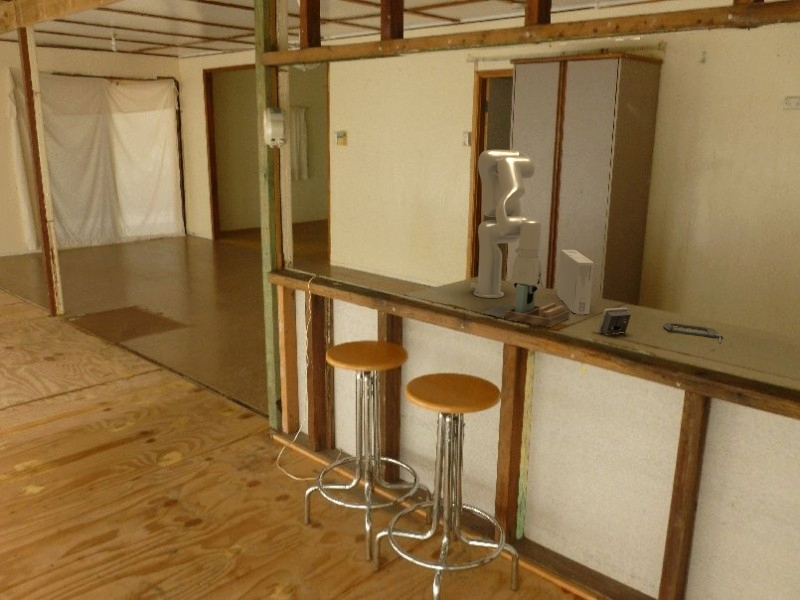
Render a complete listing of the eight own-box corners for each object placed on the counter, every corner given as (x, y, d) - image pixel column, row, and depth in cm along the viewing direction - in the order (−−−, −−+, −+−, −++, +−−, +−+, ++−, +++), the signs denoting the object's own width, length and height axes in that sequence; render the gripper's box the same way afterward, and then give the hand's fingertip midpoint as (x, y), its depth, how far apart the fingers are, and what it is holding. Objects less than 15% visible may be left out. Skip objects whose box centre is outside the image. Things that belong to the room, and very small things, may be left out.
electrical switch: (620, 330, 234) (624, 305, 231) (629, 336, 230) (633, 310, 227) (597, 332, 231) (601, 307, 228) (605, 338, 227) (609, 312, 224)
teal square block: (514, 312, 247) (516, 285, 245) (526, 306, 255) (528, 281, 252) (521, 313, 245) (523, 287, 243) (534, 308, 253) (536, 282, 251)
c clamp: (727, 333, 236) (728, 326, 235) (720, 345, 221) (722, 337, 221) (666, 324, 246) (667, 317, 245) (656, 335, 231) (657, 327, 231)
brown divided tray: (503, 318, 246) (504, 311, 246) (524, 310, 259) (525, 303, 258) (549, 327, 236) (550, 319, 235) (569, 318, 248) (569, 310, 248)
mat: (481, 314, 252) (481, 312, 252) (501, 306, 265) (501, 305, 265) (502, 318, 247) (502, 316, 247) (522, 310, 259) (522, 308, 259)
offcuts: (537, 323, 241) (538, 308, 240) (551, 317, 250) (552, 302, 249) (548, 325, 238) (550, 310, 237) (563, 319, 248) (564, 304, 246)
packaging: (589, 314, 255) (594, 262, 251) (573, 314, 255) (577, 262, 251) (571, 296, 285) (575, 249, 280) (557, 296, 285) (560, 249, 280)
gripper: (503, 252, 247) (500, 300, 251) (544, 257, 237) (540, 308, 242) (513, 249, 253) (510, 296, 257) (553, 255, 243) (549, 304, 248)
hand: (525, 301), depth 249 cm, fingers closed on teal square block, 3 cm apart
